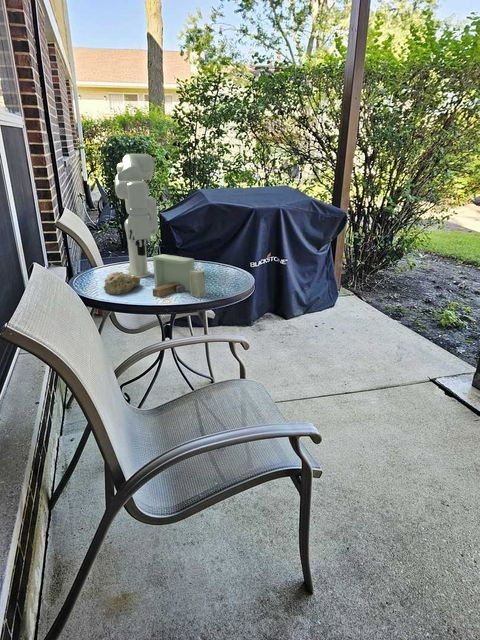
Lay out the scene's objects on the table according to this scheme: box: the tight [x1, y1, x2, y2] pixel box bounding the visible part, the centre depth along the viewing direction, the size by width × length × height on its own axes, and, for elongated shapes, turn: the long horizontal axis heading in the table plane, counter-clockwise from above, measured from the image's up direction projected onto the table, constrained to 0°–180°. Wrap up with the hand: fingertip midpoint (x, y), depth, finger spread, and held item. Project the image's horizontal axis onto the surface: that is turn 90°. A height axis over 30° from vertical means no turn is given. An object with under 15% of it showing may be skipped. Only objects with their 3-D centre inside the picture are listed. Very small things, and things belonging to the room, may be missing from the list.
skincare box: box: [190, 269, 207, 299], centre depth 196 cm, size 6×4×12 cm
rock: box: [103, 271, 141, 295], centre depth 207 cm, size 21×14×10 cm
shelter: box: [152, 253, 195, 294], centre depth 204 cm, size 20×7×16 cm, turn 58°
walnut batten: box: [152, 282, 180, 298], centre depth 202 cm, size 4×15×4 cm, turn 148°
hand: (141, 255), depth 183 cm, fingers closed
